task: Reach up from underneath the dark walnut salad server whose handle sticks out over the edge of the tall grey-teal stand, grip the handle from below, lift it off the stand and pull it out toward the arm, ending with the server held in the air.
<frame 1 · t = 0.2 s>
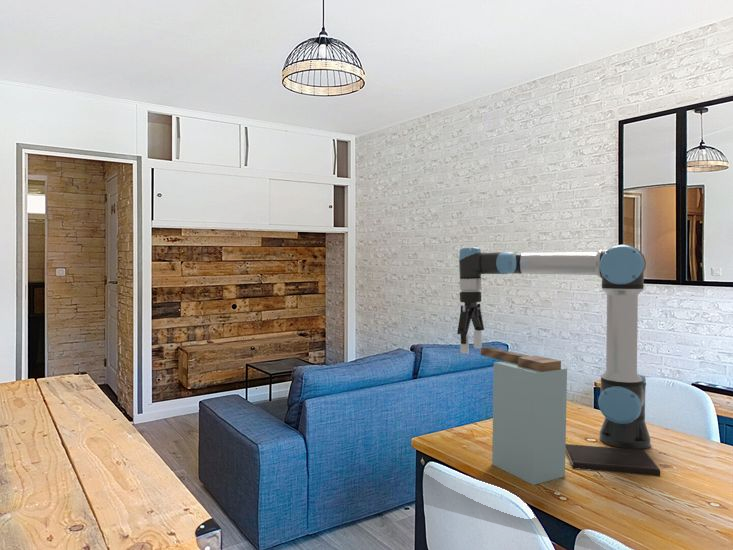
hand: (471, 350, 189), 28 cm above the table, tool pointing down, fingers open, 13 cm apart
stand: (527, 470, 151), on the table
salad server: (504, 359, 159), point 30 cm above the table, touching stand
hardcover book: (609, 464, 158), on the table
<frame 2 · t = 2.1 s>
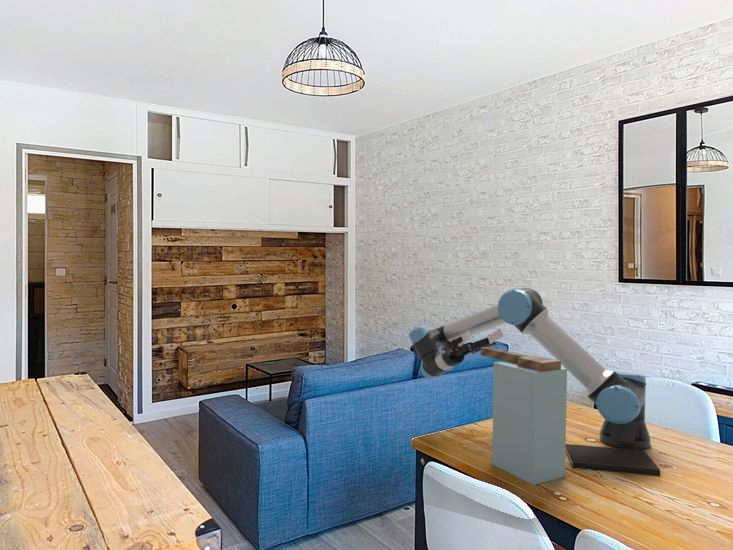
hand: (485, 333, 174), 36 cm above the table, tool pointing upward, fingers open, 13 cm apart
nothing on the table moved.
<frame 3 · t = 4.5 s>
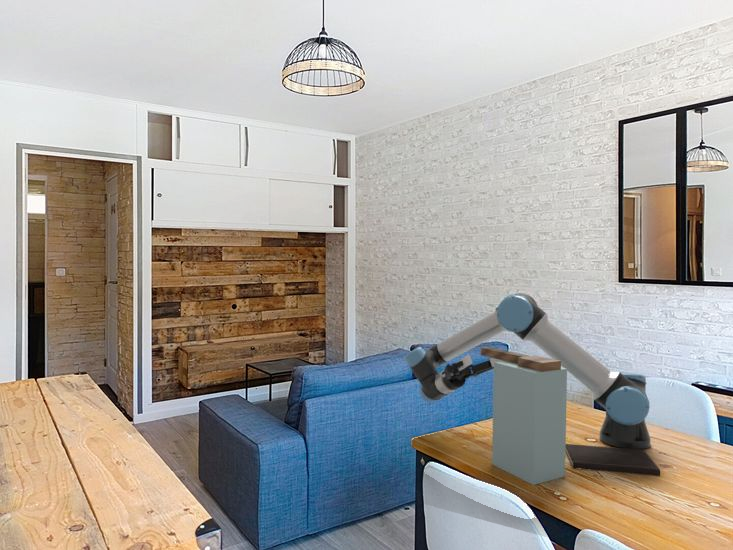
hand: (487, 357, 165), 30 cm above the table, tool pointing upward, fingers open, 13 cm apart
nothing on the table moved.
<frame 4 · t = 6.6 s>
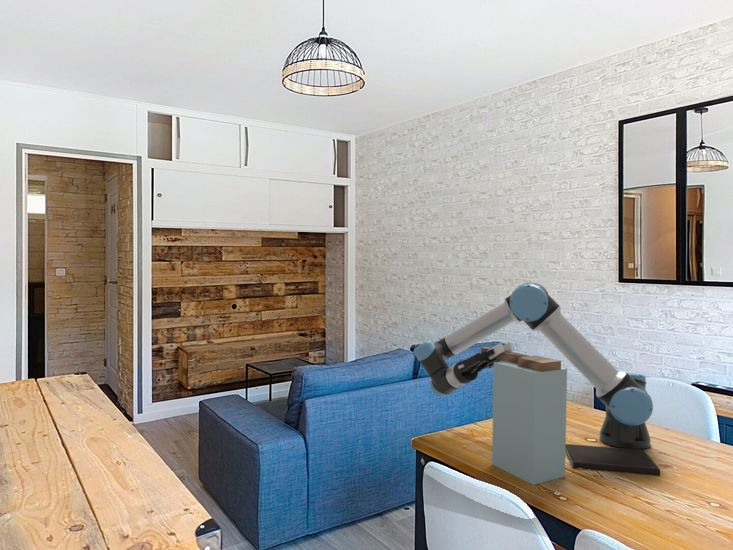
hand: (506, 346, 158), 34 cm above the table, tool pointing upward, fingers closed on salad server, 3 cm apart
salad server: (504, 359, 159), point 30 cm above the table, touching gripper, stand
everything else where it was.
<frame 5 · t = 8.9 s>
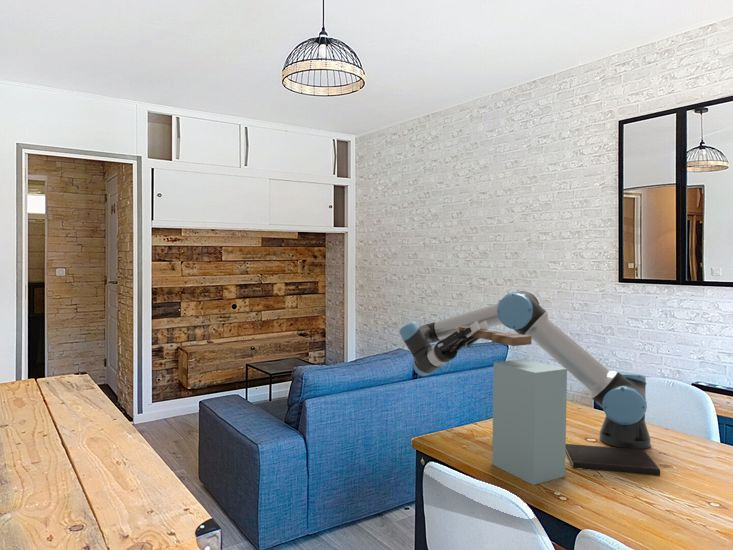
hand: (482, 325, 167), 39 cm above the table, tool pointing upward, fingers closed on salad server, 3 cm apart
salad server: (480, 337, 168), point 35 cm above the table, touching gripper
everything else where it was.
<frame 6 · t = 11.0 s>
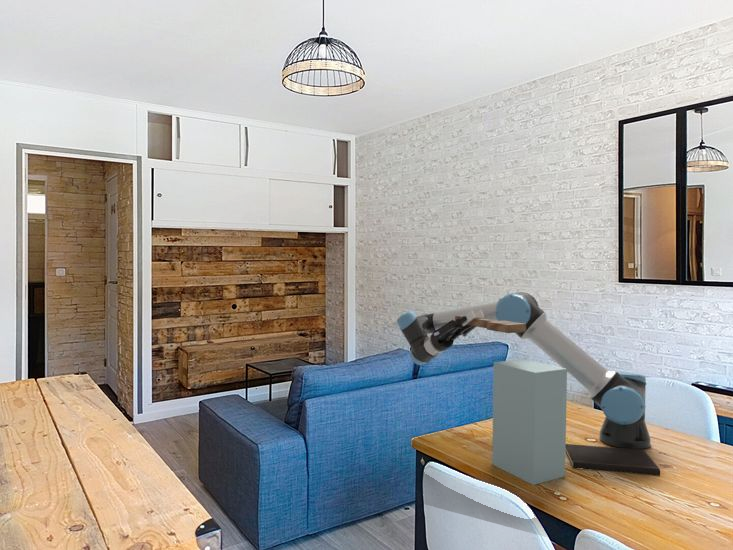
hand: (477, 313, 169), 43 cm above the table, tool pointing upward, fingers closed on salad server, 3 cm apart
salad server: (476, 325, 170), point 39 cm above the table, touching gripper
everything else where it was.
at the end: the gripper is holding salad server; salad server moved 15.7 cm from its start; salad server touching gripper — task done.
